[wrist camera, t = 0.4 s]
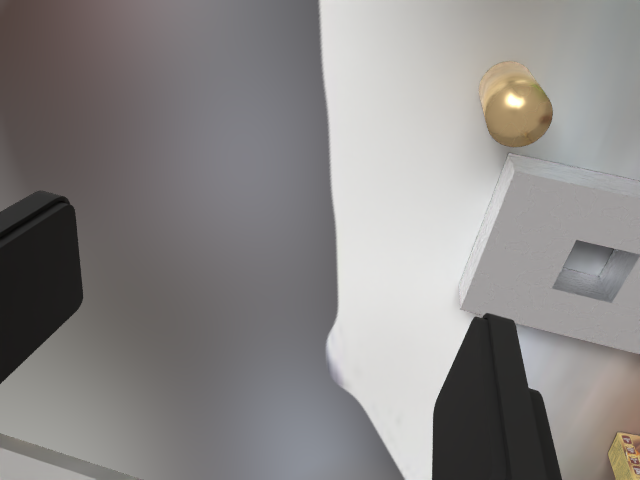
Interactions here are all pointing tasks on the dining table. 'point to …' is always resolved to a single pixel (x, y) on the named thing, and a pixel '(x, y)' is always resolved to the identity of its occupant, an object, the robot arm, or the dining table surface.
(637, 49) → the dining table surface
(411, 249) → the dining table surface
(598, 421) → the dining table surface
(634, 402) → the dining table surface
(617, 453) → the candy box
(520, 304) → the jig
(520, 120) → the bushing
